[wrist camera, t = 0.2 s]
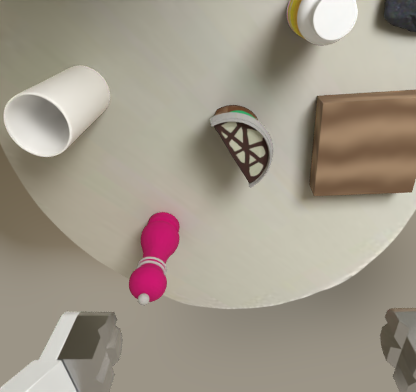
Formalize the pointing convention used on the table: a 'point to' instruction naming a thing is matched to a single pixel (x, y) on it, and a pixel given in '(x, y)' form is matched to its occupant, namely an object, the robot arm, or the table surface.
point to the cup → (56, 110)
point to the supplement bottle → (322, 19)
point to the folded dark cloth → (401, 13)
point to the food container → (245, 140)
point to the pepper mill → (154, 257)
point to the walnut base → (364, 143)
